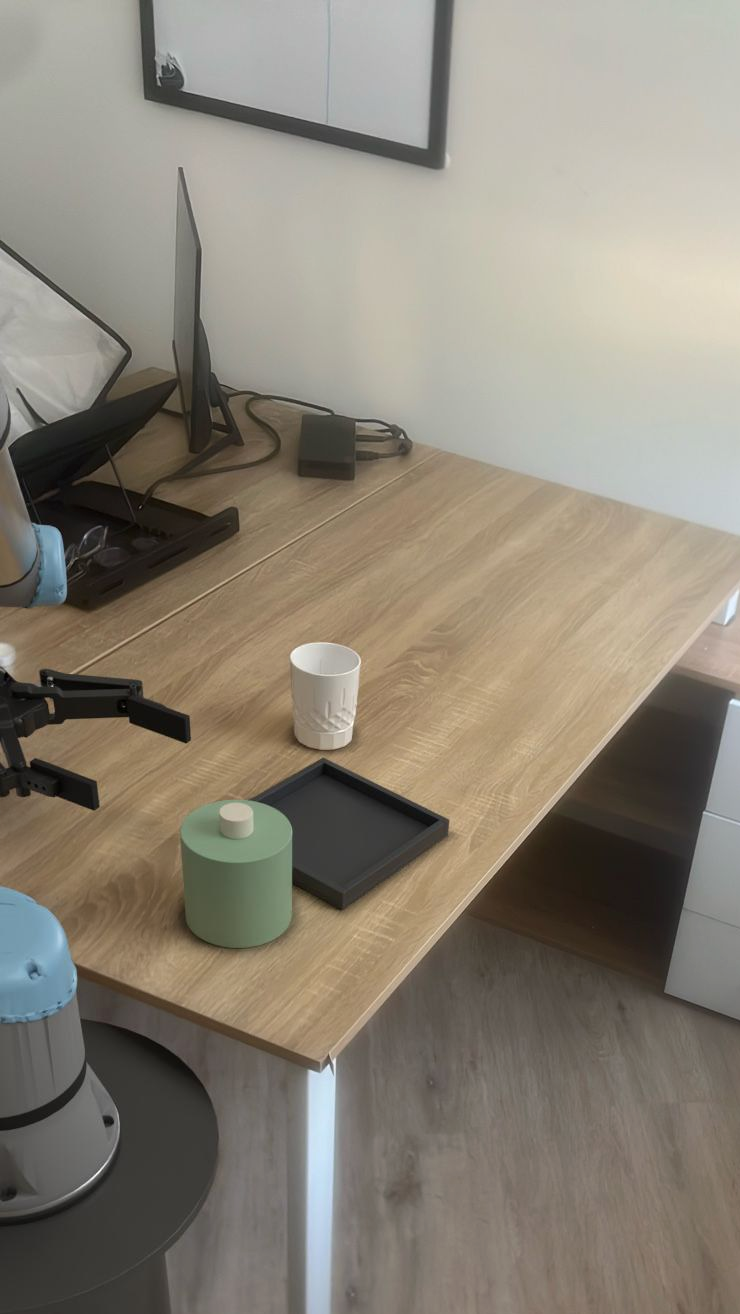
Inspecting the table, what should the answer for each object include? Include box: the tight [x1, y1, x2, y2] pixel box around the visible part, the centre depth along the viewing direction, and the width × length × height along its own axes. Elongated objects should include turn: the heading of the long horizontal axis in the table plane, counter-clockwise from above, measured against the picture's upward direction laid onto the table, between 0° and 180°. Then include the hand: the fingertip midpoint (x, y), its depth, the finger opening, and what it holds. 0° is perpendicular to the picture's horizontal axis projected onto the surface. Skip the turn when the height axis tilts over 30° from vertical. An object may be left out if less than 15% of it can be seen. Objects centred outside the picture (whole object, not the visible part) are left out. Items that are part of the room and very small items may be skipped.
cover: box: [179, 799, 293, 949], centre depth 119 cm, size 10×10×12 cm
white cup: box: [289, 641, 362, 751], centre depth 146 cm, size 8×8×10 cm
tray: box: [248, 757, 450, 911], centre depth 134 cm, size 18×18×2 cm
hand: (144, 761), depth 116 cm, fingers open, 13 cm apart
